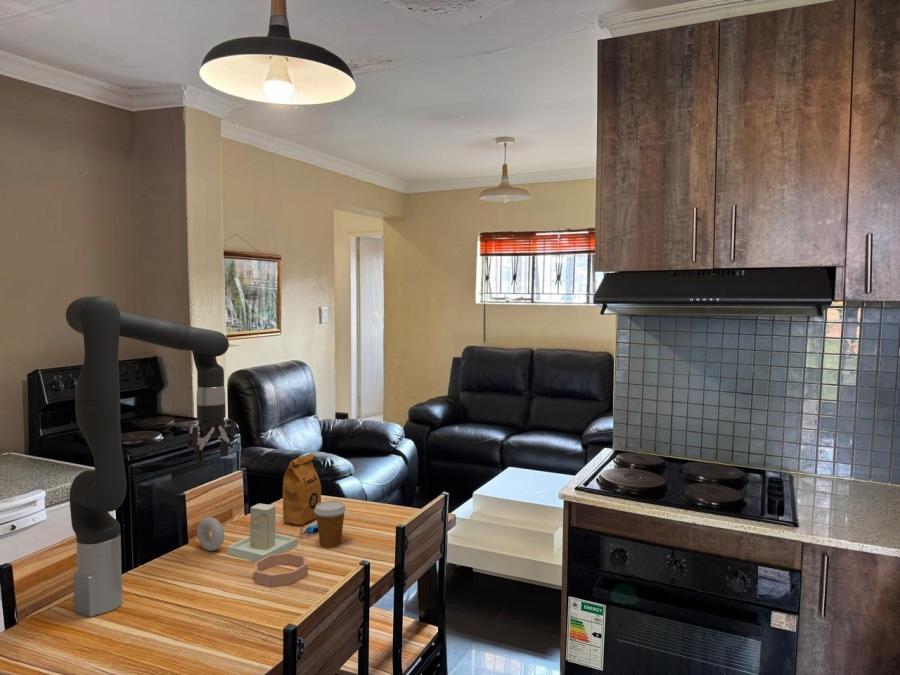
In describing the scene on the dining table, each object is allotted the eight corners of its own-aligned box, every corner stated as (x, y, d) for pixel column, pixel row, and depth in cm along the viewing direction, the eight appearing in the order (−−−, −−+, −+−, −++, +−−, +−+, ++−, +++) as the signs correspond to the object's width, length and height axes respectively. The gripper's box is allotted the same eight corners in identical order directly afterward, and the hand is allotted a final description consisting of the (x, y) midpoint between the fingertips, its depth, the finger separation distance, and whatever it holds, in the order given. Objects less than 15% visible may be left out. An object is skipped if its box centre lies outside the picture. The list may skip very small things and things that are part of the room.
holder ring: (282, 590, 154) (282, 578, 154) (243, 579, 160) (243, 568, 160) (316, 569, 166) (316, 558, 166) (279, 560, 172) (279, 549, 172)
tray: (263, 563, 170) (263, 555, 170) (227, 554, 176) (227, 546, 176) (297, 545, 182) (297, 538, 182) (262, 537, 189) (262, 530, 189)
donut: (227, 551, 178) (226, 518, 178) (217, 555, 175) (216, 522, 175) (204, 545, 183) (203, 512, 183) (194, 549, 180) (194, 516, 180)
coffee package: (326, 517, 207) (325, 454, 206) (301, 528, 197) (300, 462, 195) (304, 512, 212) (303, 451, 211) (278, 523, 201) (277, 458, 200)
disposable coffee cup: (342, 550, 179) (342, 510, 179) (311, 549, 180) (310, 510, 179) (348, 537, 189) (348, 500, 188) (318, 537, 189) (318, 500, 188)
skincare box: (249, 547, 178) (248, 507, 178) (258, 542, 182) (258, 502, 182) (267, 550, 176) (266, 509, 176) (276, 544, 180) (276, 505, 180)
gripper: (199, 406, 160) (200, 466, 161) (240, 399, 173) (241, 455, 173) (180, 404, 163) (181, 463, 164) (221, 398, 176) (222, 452, 177)
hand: (212, 459), depth 169 cm, fingers open, 8 cm apart
